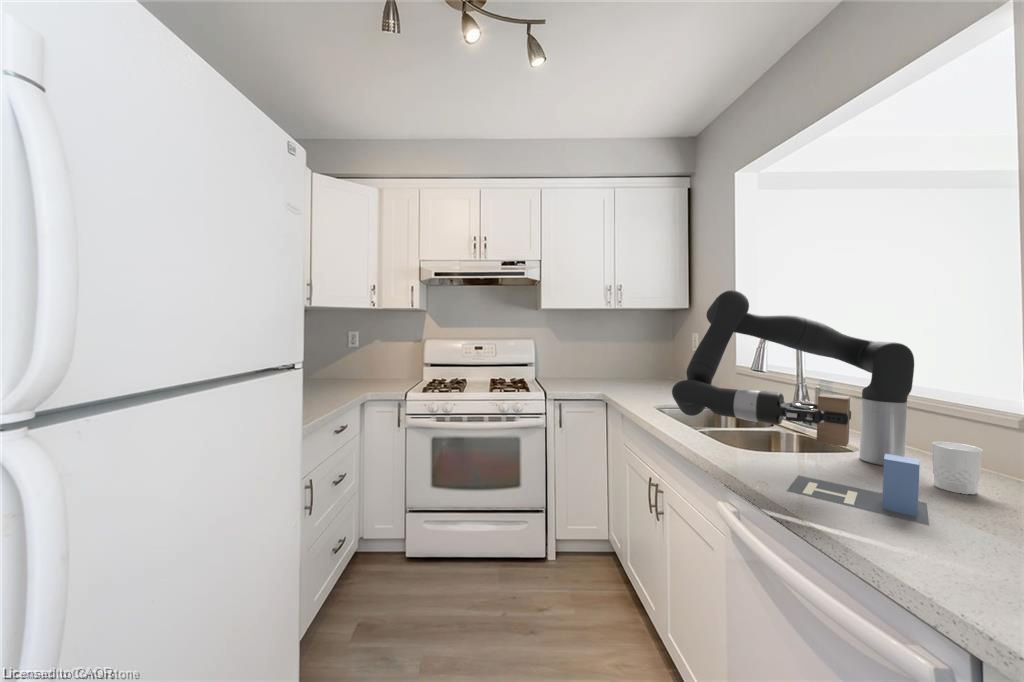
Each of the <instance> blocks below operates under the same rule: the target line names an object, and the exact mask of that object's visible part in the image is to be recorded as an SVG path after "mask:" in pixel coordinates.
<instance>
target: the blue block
mask: <svg viewBox="0 0 1024 682" xmlns="http://www.w3.org/2000/svg"><path fill="white" fill-rule="evenodd" d="M920 466H921V465H920V458H916V457H915V458H914V457H909V456H905V457H903V456H897V455H890V454H885V456H884V466H883V472H882V473H883V475H882V476H883V477H882V478H883V479H882V493H883V497H882V509H886V510H890V511H895V512H899V513H903V514H908V515H912V516H916V517H917V514H918V501H919V488H920V487H919V486H920V485H919V484H920Z"/></svg>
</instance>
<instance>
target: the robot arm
mask: <svg viewBox="0 0 1024 682" xmlns="http://www.w3.org/2000/svg"><path fill="white" fill-rule="evenodd" d="M749 309H750V302H749V300H748V297H747V296H746V295H745V294H744V293H742V292H741V291H738V290H730V289H729V290H725V291H723V292H722V293H720V294H719V295H718V296H717V297H716V298H715V300H714V301H713V302H712V304H710V306H709V307H708V309H707V311H706V319H707V321H708V323H709V324H710V325H709V327H708V329H707V331H706V333H705V335H704V336H703V338H702V340H701V341H700V342H699V344H698V346H697V347H696V349H695V351H694V353H693V354H692V357H691V359H690V361H689V364H688V366H687V367H686V371H685V373H686V379H683V380H681V381H678V382H677V383H675V384H674V385H673V387H672V390H671V394H672V395H671V396H672V398H673V399H674V401H675V402H676V405H677V407H678V408H679V409H680V411H681V412H682V413H683V414H685V415H686V416H688V417H689V416H691V417H693V416H698V415H699V414H702V412H703V411H704V410H705V409H706V408H707V409H709V410H710V411H711V412H712V413H714V414H715V415H717V416H723V417H728V418H736V419H741V420H744V421H749V422H757V423H763V424H770V425H777V426H778V425H780V424H782V423H783V420H784V417H785V420H786V421H788V422H790V421H791V422H800V423H801V422H802V423H809V424H810V423H811V424H816V425H817V424H818V423H824V422H830V423H837V424H847V423H848V414H845V413H837V412H828V411H826V413H825V411H823V410H818V403H812V402H804V401H798V400H797V401H796V400H792V402H791V401H790V402H785V400H784V399H785V397H784V394H782V392H777V391H766V390H756V389H734V388H724V387H723V388H722V387H718V386H715V385H714V384H712V383H713V379H714V378H715V374H716V373H717V371H718V368H719V366H720V363H721V361H722V358H723V355H724V353H725V351H726V349H727V346H728V344H729V342H730V340H731V339H732V336H733V335H734V333H736V334H740V335H741V334H742V335H745V336H750V337H754V338H758V339H761V340H764V341H767V342H770V343H771V342H772V343H775V344H778V345H781V346H784V347H787V348H790V349H794V350H797V351H800V352H803V353H807V354H811V355H816V356H820V357H826V358H832V359H833V360H834V359H835V360H838V361H840V362H844V363H845V364H846V363H847V364H849V365H851V366H854V367H856V368H858V369H860V370H863V371H866V372H867V373H870V374H871V380H870V382H869V384H868V386H865V387H864V388H862V390H861V412H860V413H861V417H860V439H859V440H860V441H859V443H860V444H859V459H860V460H862V461H864V462H866V463H870V464H874V465H878V466H883V467H884V456H885V454H890V455H897V456H903V457H906V443H907V441H906V439H907V436H906V435H907V417H908V413H907V412H908V411H907V410H908V397H909V395H910V393H911V391H912V388H913V383H914V374H915V373H914V372H915V357H914V354H913V353H914V352H913V351H912V350H911V348H909V347H908V346H907V345H905V344H903V343H900V342H896V341H895V342H893V341H875V340H874V341H873V340H867V339H862V338H857V337H855V336H850V335H847V334H844V333H841V332H840V331H838V330H836V329H834V328H833V327H831V326H828V325H827V324H824V323H822V322H819V321H817V320H813V319H811V318H806V317H803V316H798V315H792V314H791V315H790V314H787V315H786V314H784V315H783V314H782V315H781V314H780V315H779V314H778V315H758V314H754V313H751V312H749ZM851 419H852V411H851V410H850V417H849V421H850V420H851Z"/></svg>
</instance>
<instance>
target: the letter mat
mask: <svg viewBox="0 0 1024 682" xmlns="http://www.w3.org/2000/svg"><path fill="white" fill-rule="evenodd" d="M786 492H789V493H793V494H797V495H801V496H803V497H805V496H806V497H809V498H812V499H813V498H814V499H817V500H821V501H826V502H830V503H834V504H838V505H842V506H846V507H850V508H854V509H858V510H864V511H867V512H871V513H874V514H879V515H884V516H887V517H892V518H896V519H900V520H904V521H909V522H912V523H917V524H921V525H925V526H930V518H929V512H928V503H927V502H924V501H920V500H918V514H917V517H916V516H912V515H908V514H903V513H899V512H895V511H890V510H886V509H882V497H883V492H882V493H881V492H878V491H872V490H868V489H863V488H859V487H854V486H849V485H846V484H845V485H844V484H841V483H835V482H833V481H832V482H831V481H827V480H826V481H825V480H822V479H816V478H813V477H808V476H803V475H797V476H796V478H795V479H794V480H793V482H792V483H791V484H790V486H789V487H788V488H787V489H786Z"/></svg>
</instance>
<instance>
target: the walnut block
mask: <svg viewBox="0 0 1024 682" xmlns="http://www.w3.org/2000/svg"><path fill="white" fill-rule="evenodd" d="M817 404H818V409H817V410H823V411H825V413H826V411H828V412H837V413H845V414H848V423H847V424H837V423H830V422H824V423H818V424H816V443H818V444H820V443H821V444H827V445H833V446H839V447H845V448H847V447H848V444H849V443H850V441H849V440H850V420H849V417H850V411H851V396H850V395H849V396H848V395H847V396H846V395H836V394H828V393H820V394H819V395H817Z"/></svg>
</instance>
